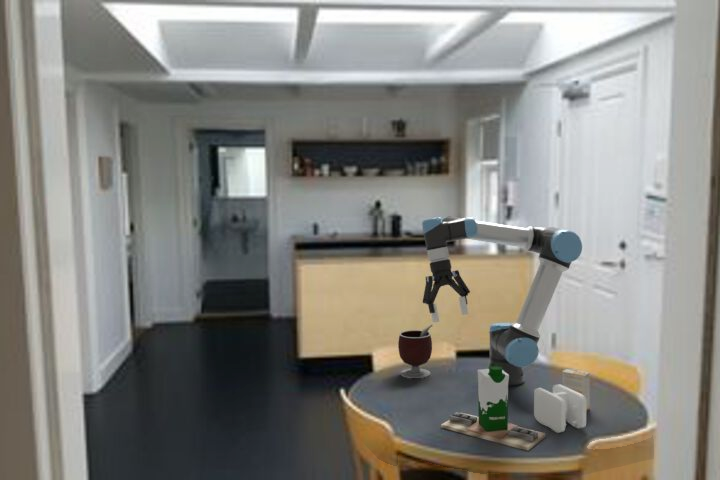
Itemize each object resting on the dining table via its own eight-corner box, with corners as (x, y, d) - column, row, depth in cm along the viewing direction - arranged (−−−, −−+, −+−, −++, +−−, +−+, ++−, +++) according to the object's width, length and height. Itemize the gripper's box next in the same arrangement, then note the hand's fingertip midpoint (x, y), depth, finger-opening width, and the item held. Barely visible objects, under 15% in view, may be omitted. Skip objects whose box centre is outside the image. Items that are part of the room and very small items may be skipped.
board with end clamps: (441, 427, 206) (441, 418, 206) (461, 415, 216) (461, 406, 216) (528, 450, 187) (528, 441, 187) (545, 436, 198) (545, 427, 197)
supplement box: (590, 409, 220) (590, 372, 219) (583, 412, 216) (584, 375, 215) (567, 403, 226) (568, 367, 224) (561, 407, 222) (561, 370, 221)
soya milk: (485, 433, 197) (485, 371, 195) (474, 422, 206) (474, 362, 204) (511, 430, 198) (511, 368, 196) (500, 420, 207) (500, 360, 205)
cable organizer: (531, 419, 212) (531, 385, 210) (557, 414, 215) (558, 381, 214) (560, 436, 198) (561, 400, 196) (588, 430, 201) (588, 395, 200)
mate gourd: (410, 381, 253) (409, 332, 251) (392, 372, 266) (391, 325, 264) (442, 375, 261) (441, 327, 259) (423, 366, 273) (423, 321, 271)
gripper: (459, 256, 239) (470, 311, 238) (405, 266, 226) (417, 325, 225) (472, 253, 232) (483, 310, 231) (418, 264, 219) (429, 324, 218)
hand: (451, 318), depth 228 cm, fingers open, 13 cm apart
